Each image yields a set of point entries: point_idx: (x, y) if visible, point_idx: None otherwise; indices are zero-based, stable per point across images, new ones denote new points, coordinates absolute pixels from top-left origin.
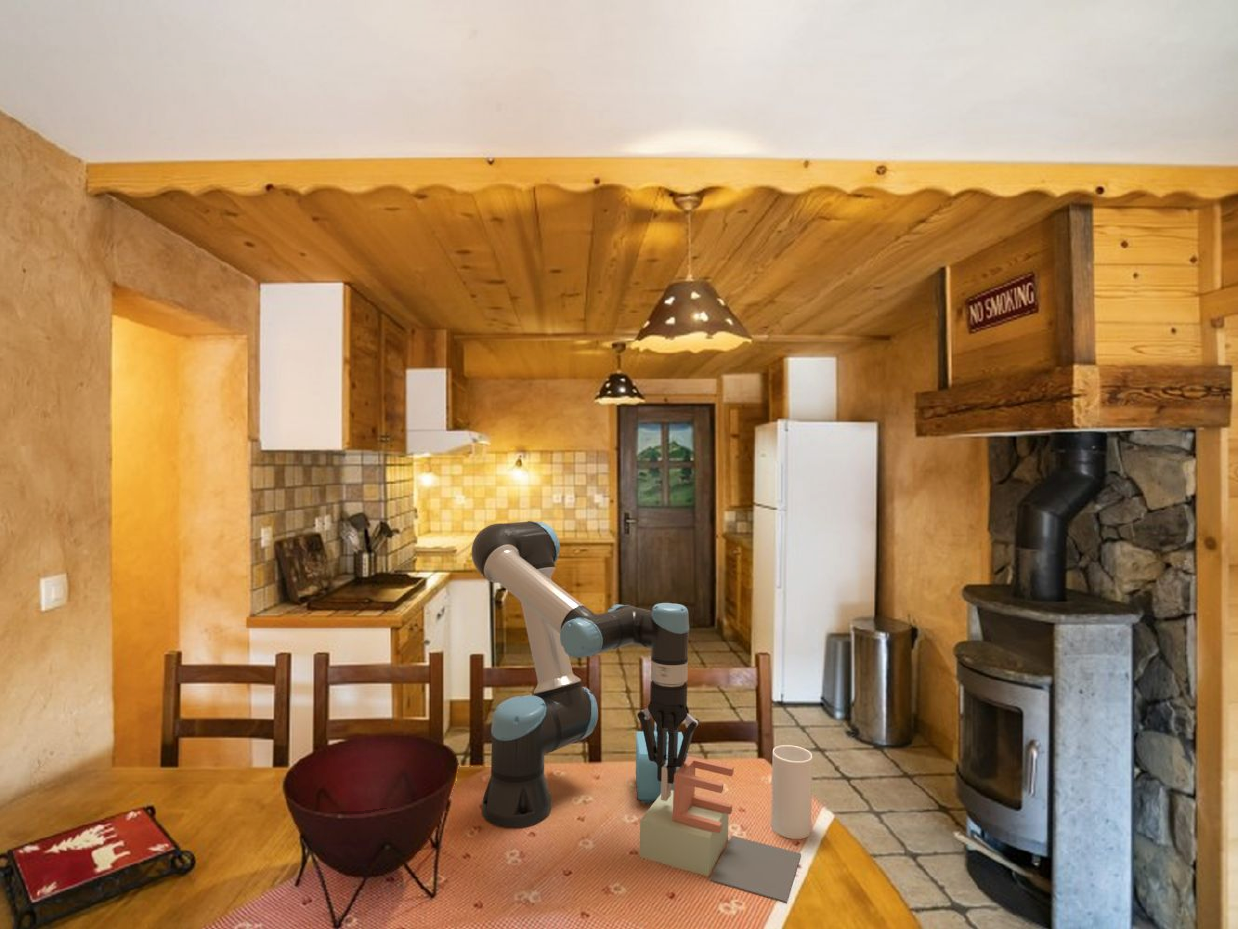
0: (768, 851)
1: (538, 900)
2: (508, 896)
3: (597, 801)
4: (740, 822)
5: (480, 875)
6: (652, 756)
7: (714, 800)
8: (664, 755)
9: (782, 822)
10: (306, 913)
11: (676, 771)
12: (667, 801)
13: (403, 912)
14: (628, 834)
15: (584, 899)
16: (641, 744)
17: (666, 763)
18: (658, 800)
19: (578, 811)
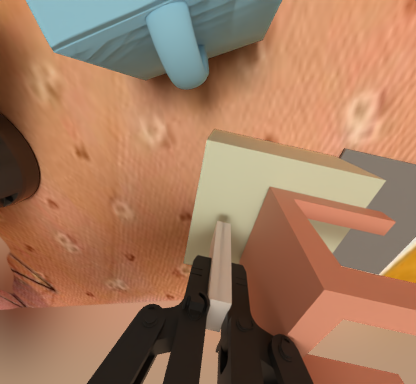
0: (404, 184)
1: (127, 287)
2: (102, 286)
3: (71, 82)
4: (384, 81)
5: (63, 268)
6: (149, 356)
7: (347, 214)
8: (195, 341)
9: None
10: (5, 305)
11: (232, 16)
12: (221, 200)
13: (52, 302)
14: (165, 179)
15: (162, 284)
16: None
17: (210, 306)
18: (201, 200)
19: (65, 132)
